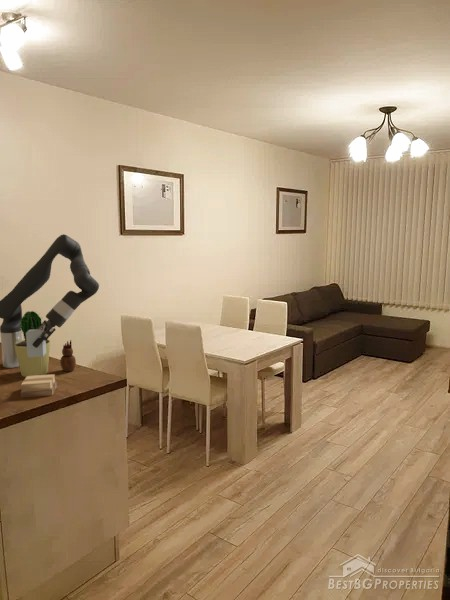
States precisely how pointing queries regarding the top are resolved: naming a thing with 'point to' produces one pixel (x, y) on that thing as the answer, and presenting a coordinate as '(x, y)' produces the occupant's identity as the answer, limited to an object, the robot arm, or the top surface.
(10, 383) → the top surface
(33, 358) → the potted cactus
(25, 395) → the tower base
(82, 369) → the top surface
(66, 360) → the wooden figurine
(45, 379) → the tower top
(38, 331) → the block
